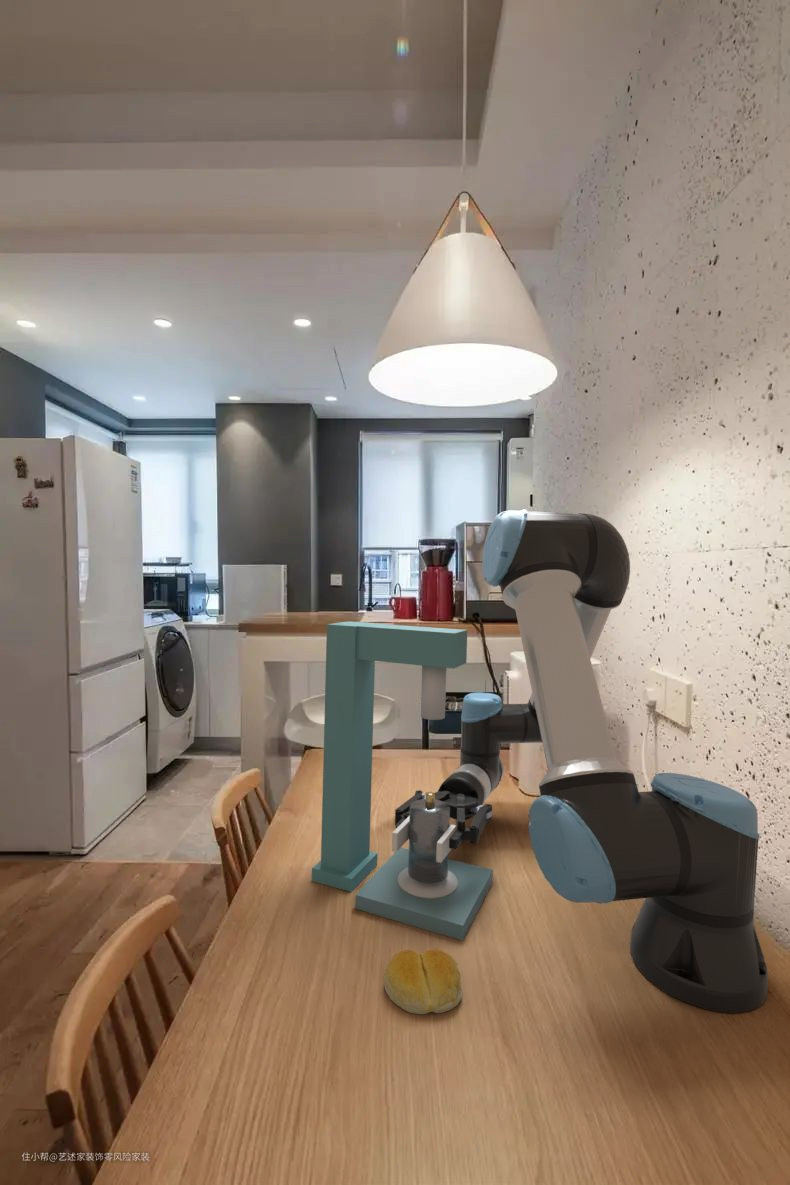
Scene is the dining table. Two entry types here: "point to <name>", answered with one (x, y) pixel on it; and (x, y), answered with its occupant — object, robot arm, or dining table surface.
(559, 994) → the dining table surface
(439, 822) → the cylinder
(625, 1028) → the dining table surface
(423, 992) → the bread roll
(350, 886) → the arbor press
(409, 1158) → the dining table surface
